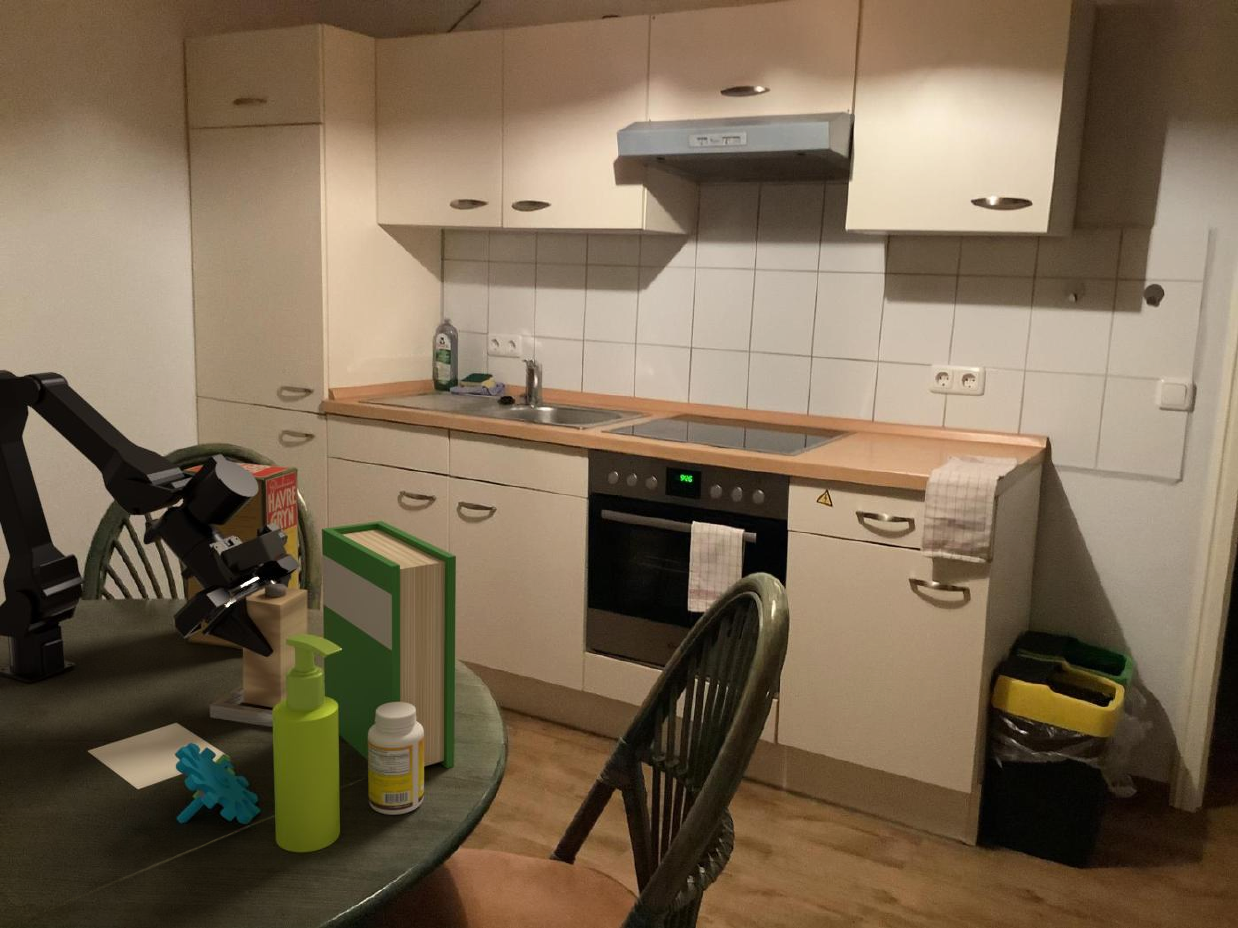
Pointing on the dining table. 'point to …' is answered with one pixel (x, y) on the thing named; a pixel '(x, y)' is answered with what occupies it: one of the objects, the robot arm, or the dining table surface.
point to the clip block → (273, 642)
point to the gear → (215, 785)
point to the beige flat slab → (150, 754)
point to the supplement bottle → (396, 759)
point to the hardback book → (390, 632)
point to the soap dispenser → (306, 753)
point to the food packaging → (258, 524)
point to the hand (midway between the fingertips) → (284, 645)
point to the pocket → (240, 709)
